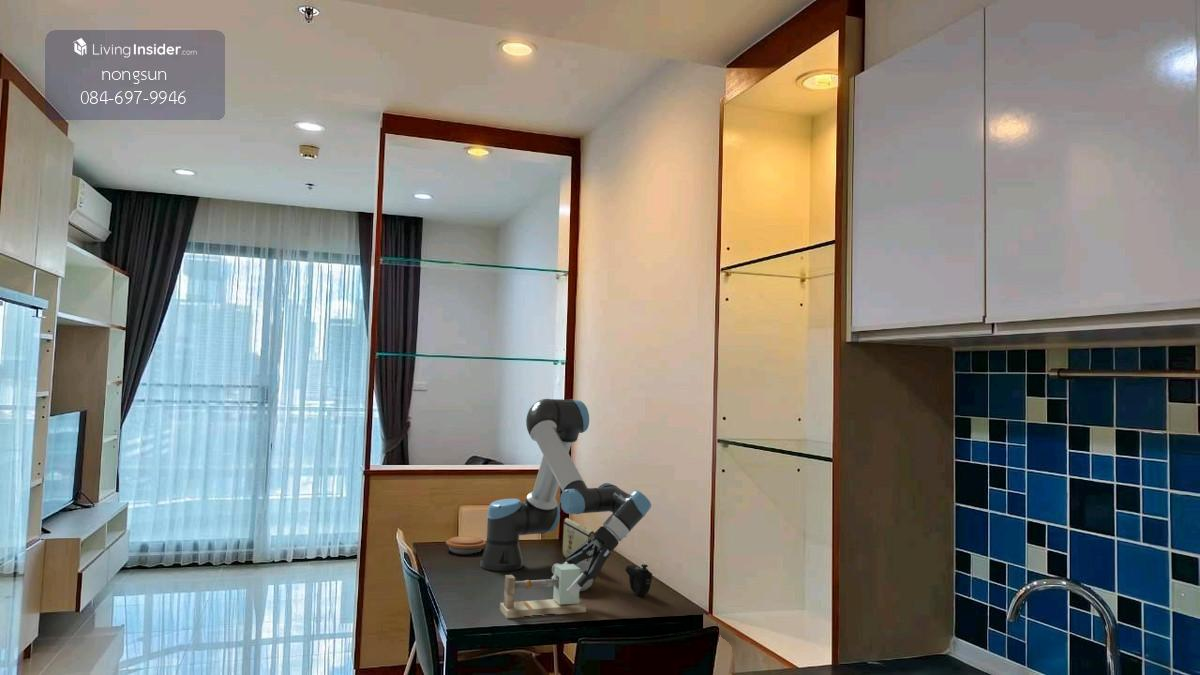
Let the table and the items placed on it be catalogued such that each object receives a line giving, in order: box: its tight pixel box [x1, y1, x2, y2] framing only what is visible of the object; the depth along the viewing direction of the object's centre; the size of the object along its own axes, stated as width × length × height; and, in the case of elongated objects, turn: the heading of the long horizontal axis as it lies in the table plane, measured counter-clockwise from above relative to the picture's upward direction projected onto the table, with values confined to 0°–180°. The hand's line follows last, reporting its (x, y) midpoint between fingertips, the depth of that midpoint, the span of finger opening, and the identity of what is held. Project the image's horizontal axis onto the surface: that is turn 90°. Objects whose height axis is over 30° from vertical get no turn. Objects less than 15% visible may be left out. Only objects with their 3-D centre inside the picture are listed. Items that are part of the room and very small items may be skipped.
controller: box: [625, 563, 653, 596], centre depth 242 cm, size 4×12×10 cm, turn 27°
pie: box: [445, 535, 487, 555], centre depth 291 cm, size 15×16×5 cm
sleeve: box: [552, 563, 580, 605], centre depth 223 cm, size 6×6×10 cm
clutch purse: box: [561, 517, 595, 562], centre depth 278 cm, size 30×7×15 cm, turn 23°
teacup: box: [551, 561, 594, 592], centre depth 245 cm, size 14×11×8 cm
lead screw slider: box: [499, 574, 587, 619], centre depth 220 cm, size 24×8×10 cm, turn 112°
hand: (561, 587), depth 222 cm, fingers open, 13 cm apart
